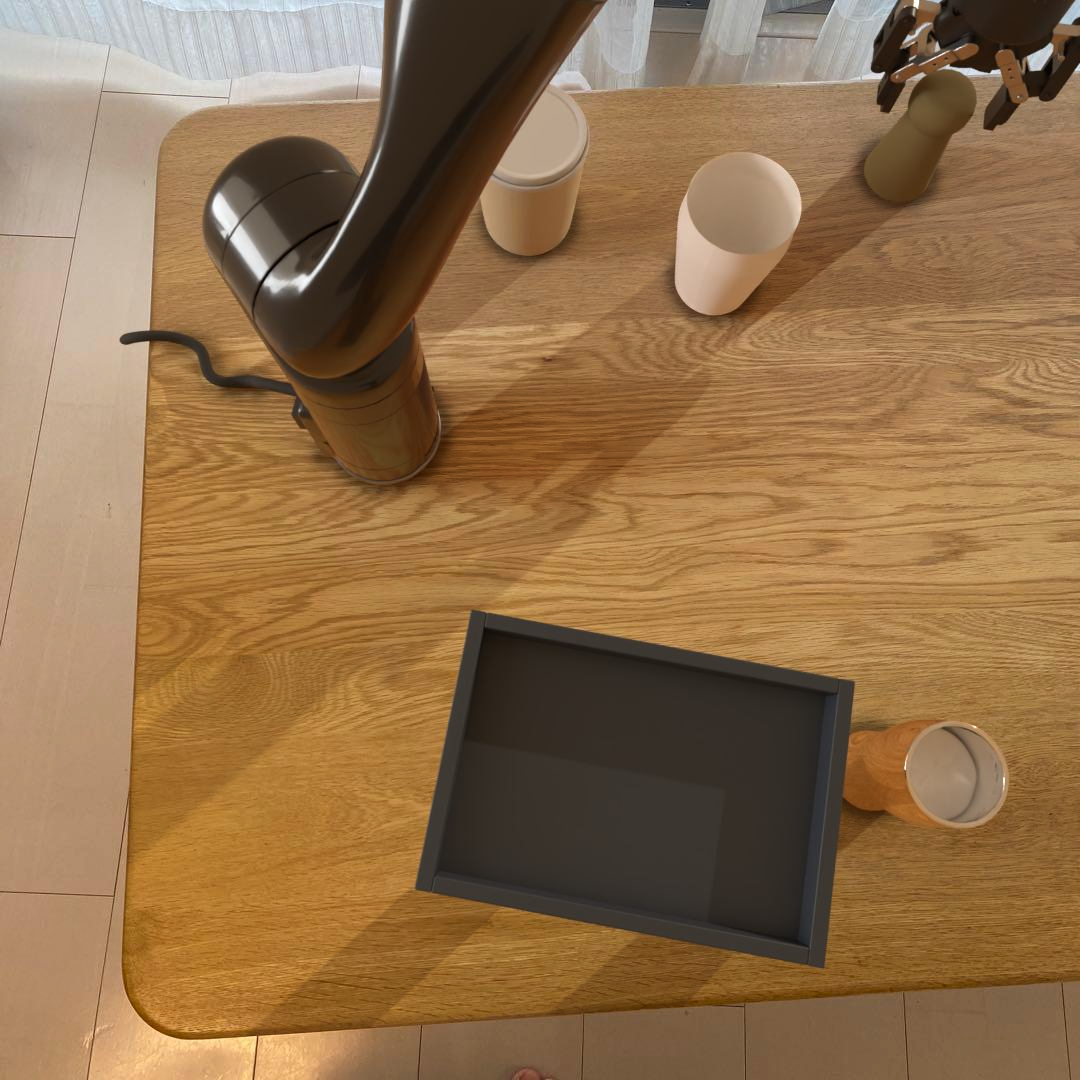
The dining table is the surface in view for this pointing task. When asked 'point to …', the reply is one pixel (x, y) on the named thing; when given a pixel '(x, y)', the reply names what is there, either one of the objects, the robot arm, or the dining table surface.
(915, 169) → the cork
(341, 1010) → the dining table surface
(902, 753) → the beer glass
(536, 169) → the coffee cup
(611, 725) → the tray
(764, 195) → the cup
